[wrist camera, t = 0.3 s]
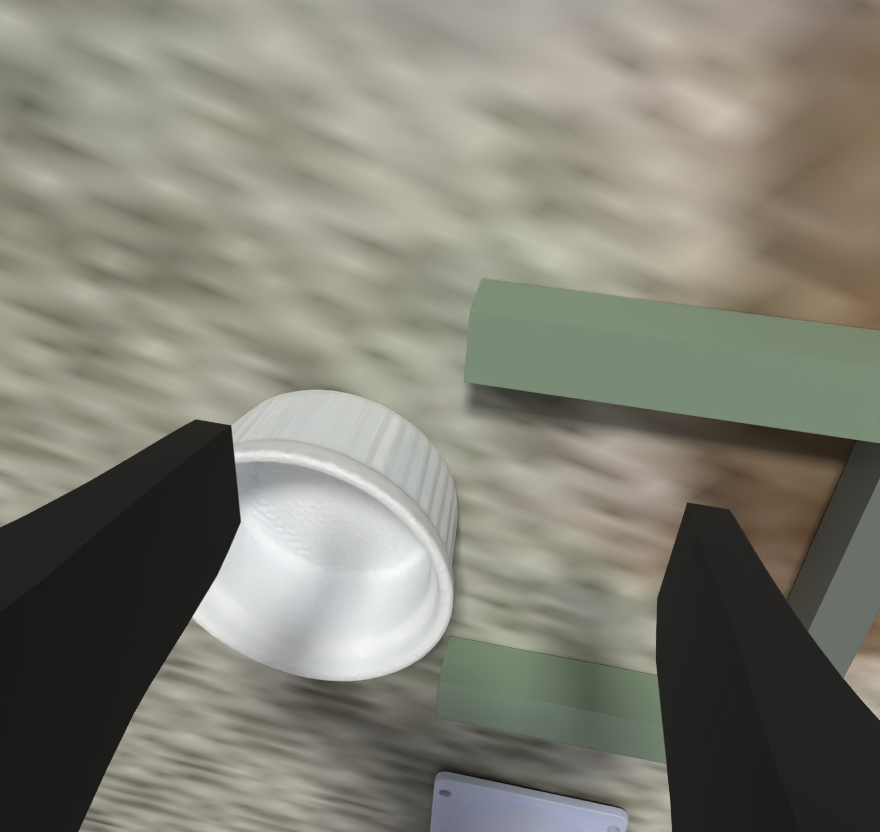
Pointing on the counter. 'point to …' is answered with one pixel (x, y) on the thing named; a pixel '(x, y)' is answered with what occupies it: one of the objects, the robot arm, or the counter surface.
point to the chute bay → (691, 393)
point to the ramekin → (335, 540)
